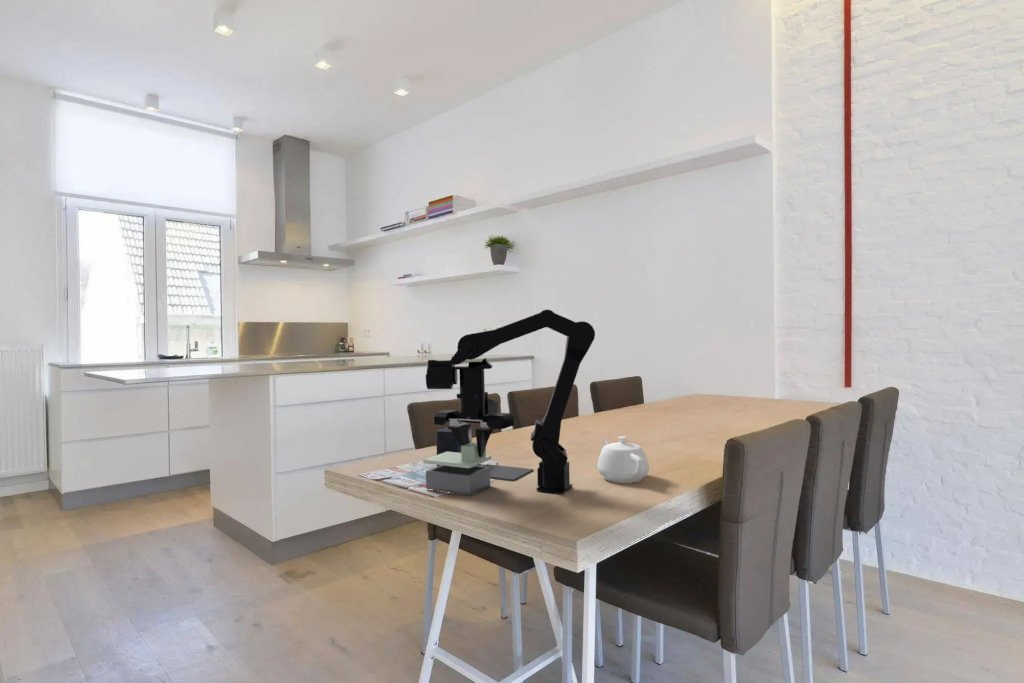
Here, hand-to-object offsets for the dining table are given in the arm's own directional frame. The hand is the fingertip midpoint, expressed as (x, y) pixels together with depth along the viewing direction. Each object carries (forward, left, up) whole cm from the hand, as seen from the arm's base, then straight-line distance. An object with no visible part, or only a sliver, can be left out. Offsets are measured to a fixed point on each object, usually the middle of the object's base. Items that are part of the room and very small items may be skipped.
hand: (473, 456), depth 131 cm
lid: (+4, 0, -2) cm, 5 cm away
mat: (+2, -16, -8) cm, 18 cm away
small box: (+17, -18, -8) cm, 26 cm away
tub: (+4, 0, -8) cm, 9 cm away
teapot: (-28, -24, -8) cm, 37 cm away
